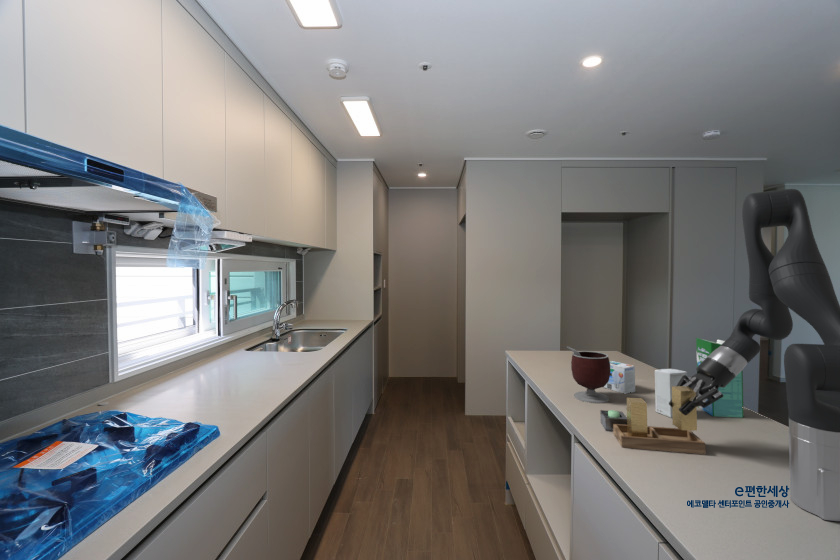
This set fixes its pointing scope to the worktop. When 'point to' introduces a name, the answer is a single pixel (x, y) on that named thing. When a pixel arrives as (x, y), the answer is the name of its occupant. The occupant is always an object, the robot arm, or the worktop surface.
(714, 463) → the worktop surface
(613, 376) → the light bulb box
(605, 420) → the button housing
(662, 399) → the skincare box
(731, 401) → the milk carton
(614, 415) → the button
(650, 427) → the tray
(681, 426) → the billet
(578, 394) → the mate gourd
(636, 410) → the billet
